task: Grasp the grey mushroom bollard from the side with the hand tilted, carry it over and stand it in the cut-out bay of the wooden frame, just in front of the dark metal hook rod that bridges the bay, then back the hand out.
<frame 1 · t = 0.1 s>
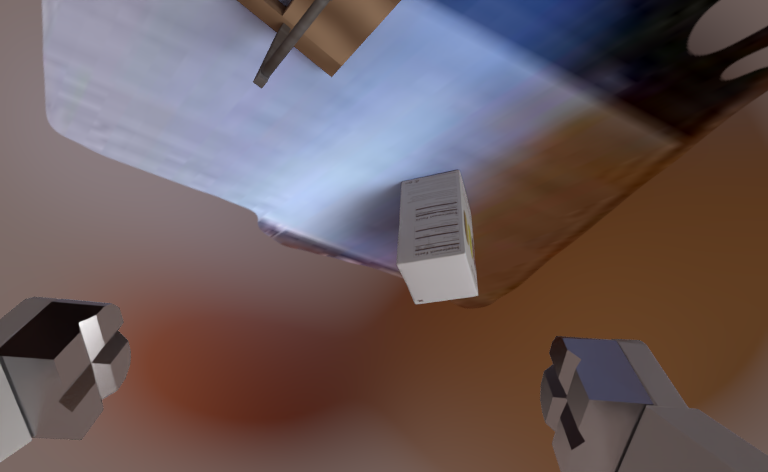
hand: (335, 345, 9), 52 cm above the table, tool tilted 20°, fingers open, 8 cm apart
supplement box: (436, 196, 76), on the table
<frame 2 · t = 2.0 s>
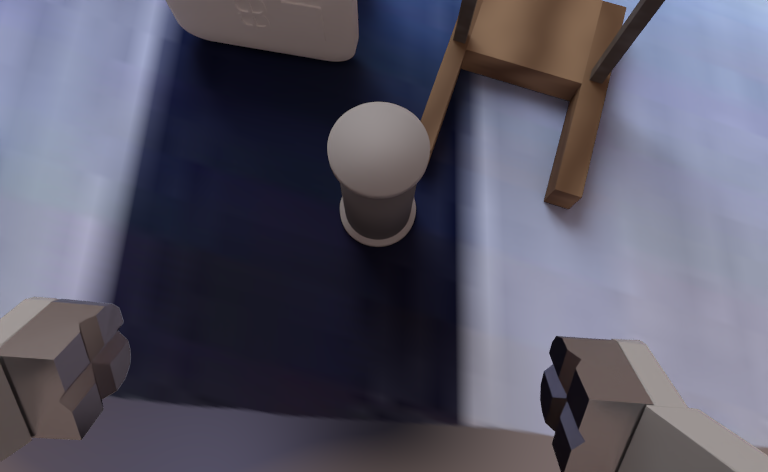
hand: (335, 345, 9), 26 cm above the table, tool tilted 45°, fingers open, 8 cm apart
wooden frame: (516, 90, 41), on the table
grey mushroom bollard: (377, 210, 37), on the table
cable organizer: (283, 13, 43), on the table
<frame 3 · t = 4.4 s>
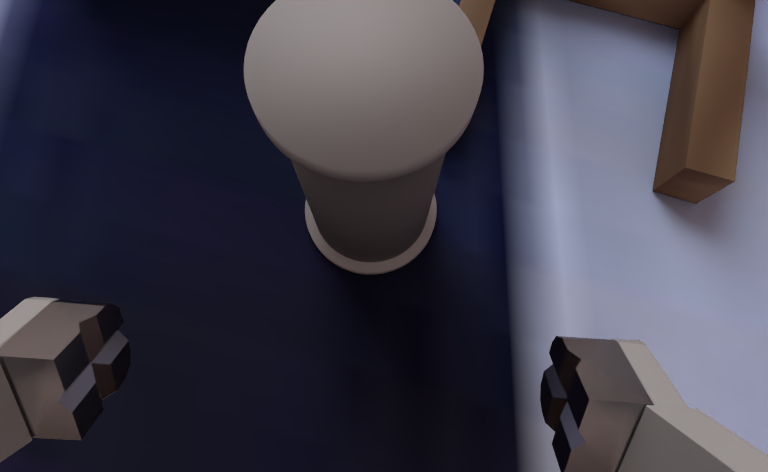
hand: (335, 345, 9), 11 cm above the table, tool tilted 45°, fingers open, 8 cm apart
wooden frame: (592, 13, 25), on the table
grey mushroom bollard: (371, 212, 22), on the table
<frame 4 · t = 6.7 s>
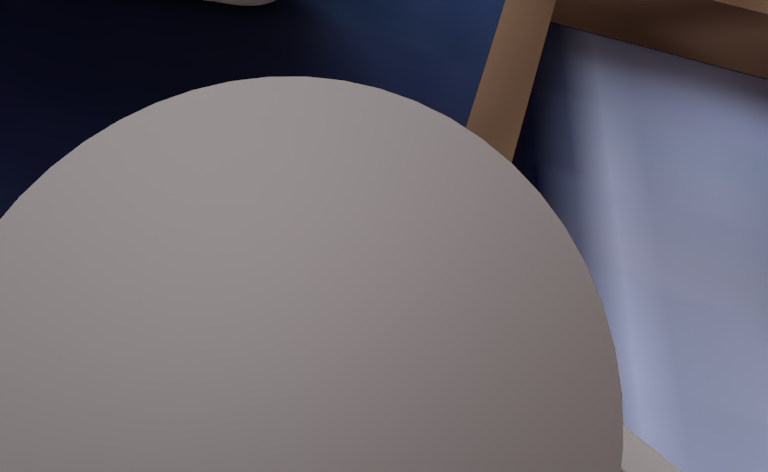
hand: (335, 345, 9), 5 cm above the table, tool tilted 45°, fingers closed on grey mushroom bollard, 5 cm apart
wooden frame: (673, 65, 17), on the table
grey mushroom bollard: (349, 382, 14), on the table, touching gripper
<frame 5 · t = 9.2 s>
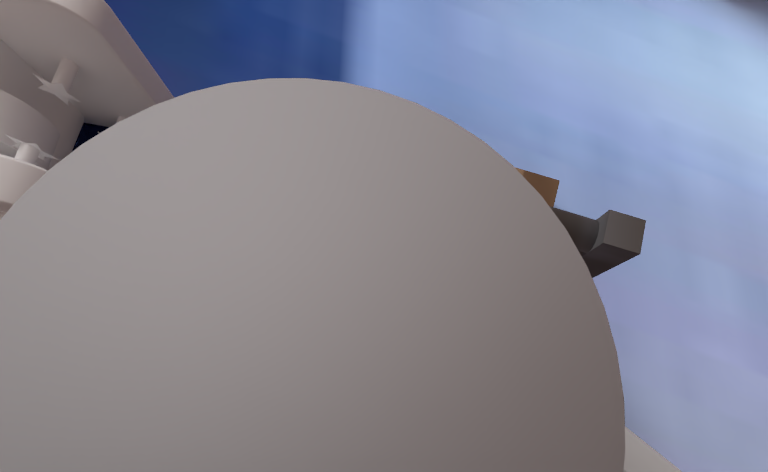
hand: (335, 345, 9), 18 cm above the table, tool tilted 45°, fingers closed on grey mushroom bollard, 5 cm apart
wooden frame: (396, 305, 27), on the table
grey mushroom bollard: (349, 384, 14), point 12 cm above the table, touching gripper
cable organizer: (65, 180, 29), on the table
when the fingers open (7 cm above the table, at t = 11.6 s): grey mushroom bollard drops 1 cm, on the table.
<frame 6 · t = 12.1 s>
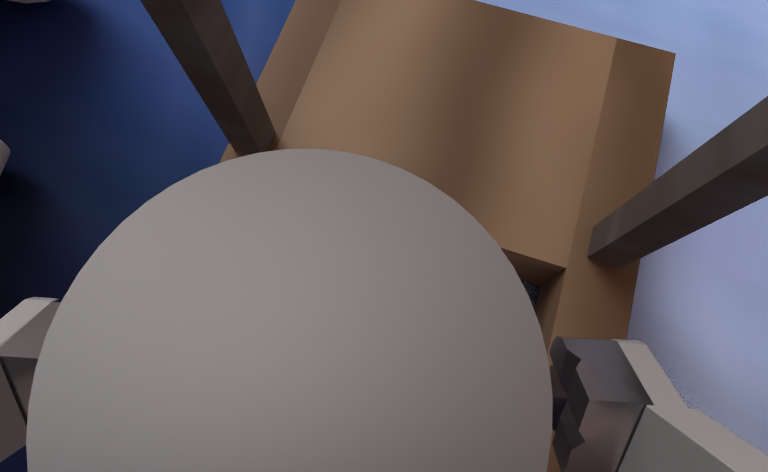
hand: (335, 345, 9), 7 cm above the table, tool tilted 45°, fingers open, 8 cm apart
wooden frame: (409, 258, 17), on the table
grey mushroom bollard: (350, 384, 16), on the table
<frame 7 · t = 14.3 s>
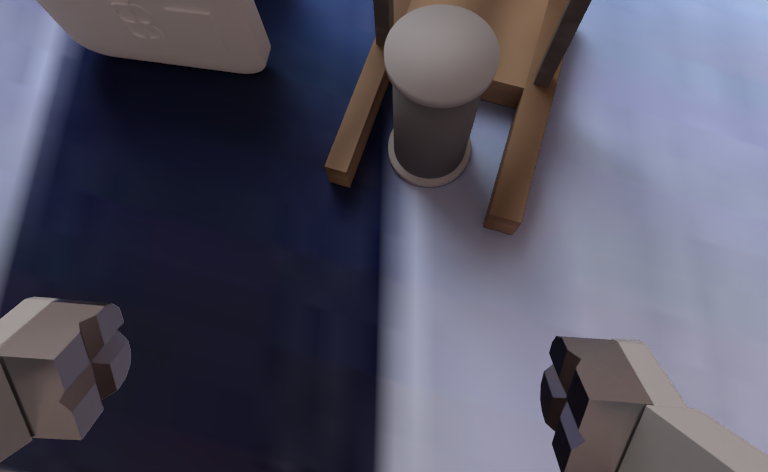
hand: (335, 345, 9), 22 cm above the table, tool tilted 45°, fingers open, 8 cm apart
wooden frame: (454, 98, 35), on the table
grey mushroom bollard: (428, 150, 34), on the table
cable organizer: (197, 22, 39), on the table
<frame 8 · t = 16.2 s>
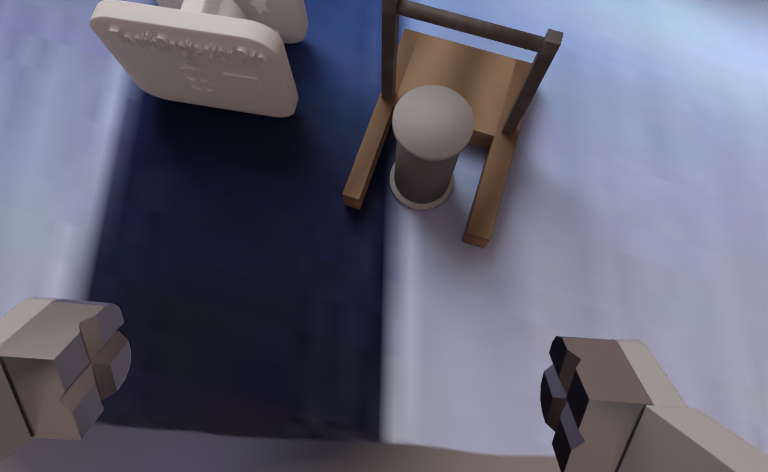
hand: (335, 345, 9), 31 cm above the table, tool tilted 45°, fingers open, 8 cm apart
wooden frame: (441, 140, 45), on the table
grey mushroom bollard: (421, 180, 44), on the table
cable organizer: (235, 72, 48), on the table
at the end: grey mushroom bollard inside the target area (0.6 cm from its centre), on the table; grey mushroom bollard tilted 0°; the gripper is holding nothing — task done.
